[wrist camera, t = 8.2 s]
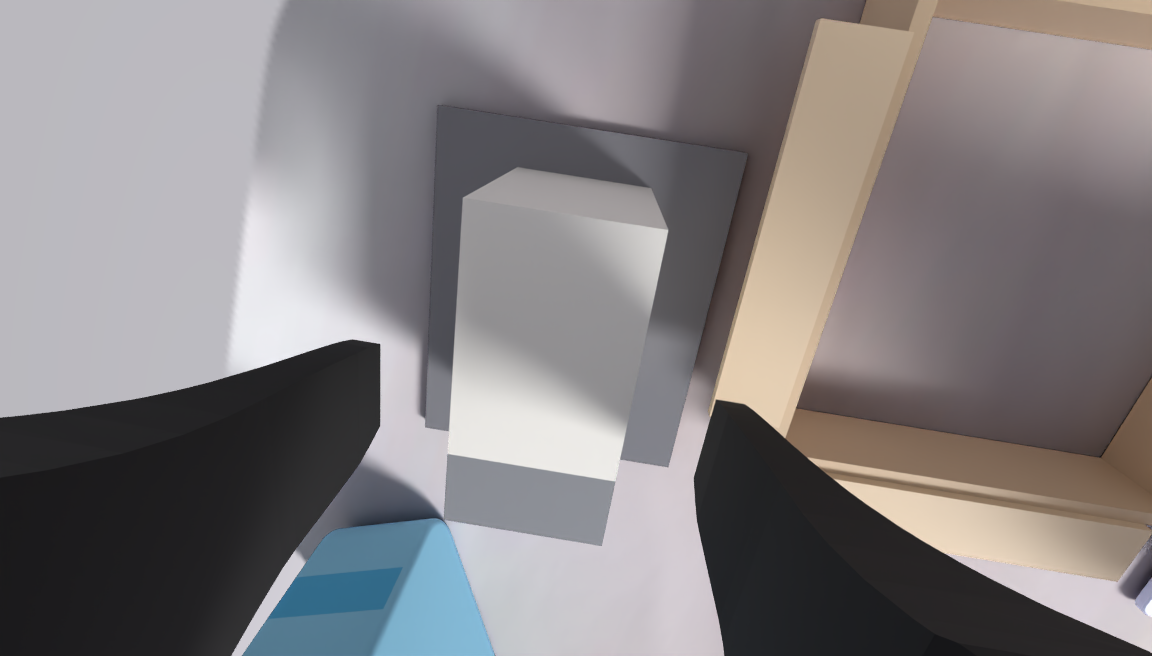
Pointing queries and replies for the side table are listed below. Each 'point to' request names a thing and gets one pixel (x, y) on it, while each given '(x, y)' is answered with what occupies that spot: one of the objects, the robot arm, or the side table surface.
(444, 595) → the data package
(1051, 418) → the side table surface
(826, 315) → the carton
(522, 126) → the mat
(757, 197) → the side table surface
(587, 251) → the capped box
